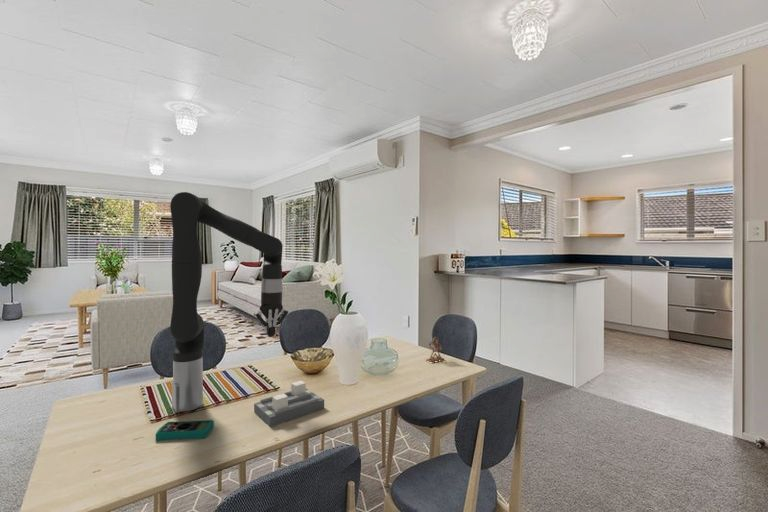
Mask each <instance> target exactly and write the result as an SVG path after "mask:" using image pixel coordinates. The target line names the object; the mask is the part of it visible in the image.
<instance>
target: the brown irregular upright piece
mask: <svg viewBox="0 0 768 512" xmlns="http://www.w3.org/2000/svg"><path fill="white" fill-rule="evenodd" d="M439 341H440V339H439V337H436V336H434V337H433V338H432V340H431V341H429V342H428V346H429V348H431V349H432V352H431V355H430V357H429V358H427V359H425V360H426V361H425V362H427V361H429V362H435V361H439V360H444V361H445V358H444V357H442V356H441V354H440V351H441V350H442V349H443V345H442V344H441V343H439ZM438 345H439V346H438ZM432 346H433V347H432ZM436 352H437V353H436ZM437 354H438V355H437ZM429 362H428V363H429ZM435 363H436V362H435Z"/></svg>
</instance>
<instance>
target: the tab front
mask: <svg viewBox="0 0 768 512" xmlns="http://www.w3.org/2000/svg"><path fill="white" fill-rule="evenodd" d="M284 393H285V392H283V394H282V393H279V394H280V395H278V394H275V395H276V396H275V395H272V396H273V397H272V409H274V410H275V411H277V410H280V409H283V408H286V407H288V396H287V395H285V394H284Z"/></svg>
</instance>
